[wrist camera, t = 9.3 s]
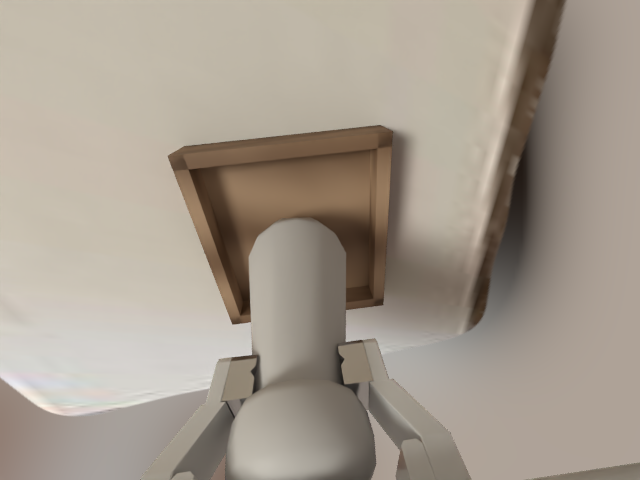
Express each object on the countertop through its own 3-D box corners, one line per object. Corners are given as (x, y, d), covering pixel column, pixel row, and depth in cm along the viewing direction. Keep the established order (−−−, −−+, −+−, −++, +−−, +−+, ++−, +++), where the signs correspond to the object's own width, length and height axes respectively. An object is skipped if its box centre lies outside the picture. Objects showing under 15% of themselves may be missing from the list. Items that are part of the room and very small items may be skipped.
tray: (183, 146, 16) (167, 156, 14) (380, 125, 16) (392, 131, 14) (238, 302, 23) (232, 324, 20) (375, 285, 23) (383, 305, 21)
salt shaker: (350, 212, 17) (457, 457, 6) (328, 280, 20) (373, 532, 9) (259, 195, 16) (180, 458, 5) (249, 269, 19) (186, 545, 8)
